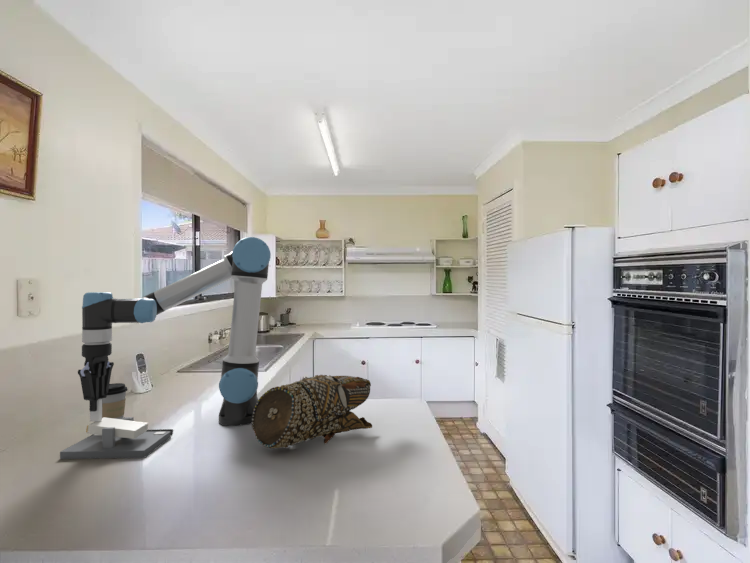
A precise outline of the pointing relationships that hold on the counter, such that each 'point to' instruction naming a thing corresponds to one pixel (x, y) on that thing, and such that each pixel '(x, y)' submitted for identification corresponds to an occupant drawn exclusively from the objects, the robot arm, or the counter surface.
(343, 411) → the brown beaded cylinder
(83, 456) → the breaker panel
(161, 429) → the cords
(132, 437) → the plate
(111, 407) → the coffee cup
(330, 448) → the counter surface
